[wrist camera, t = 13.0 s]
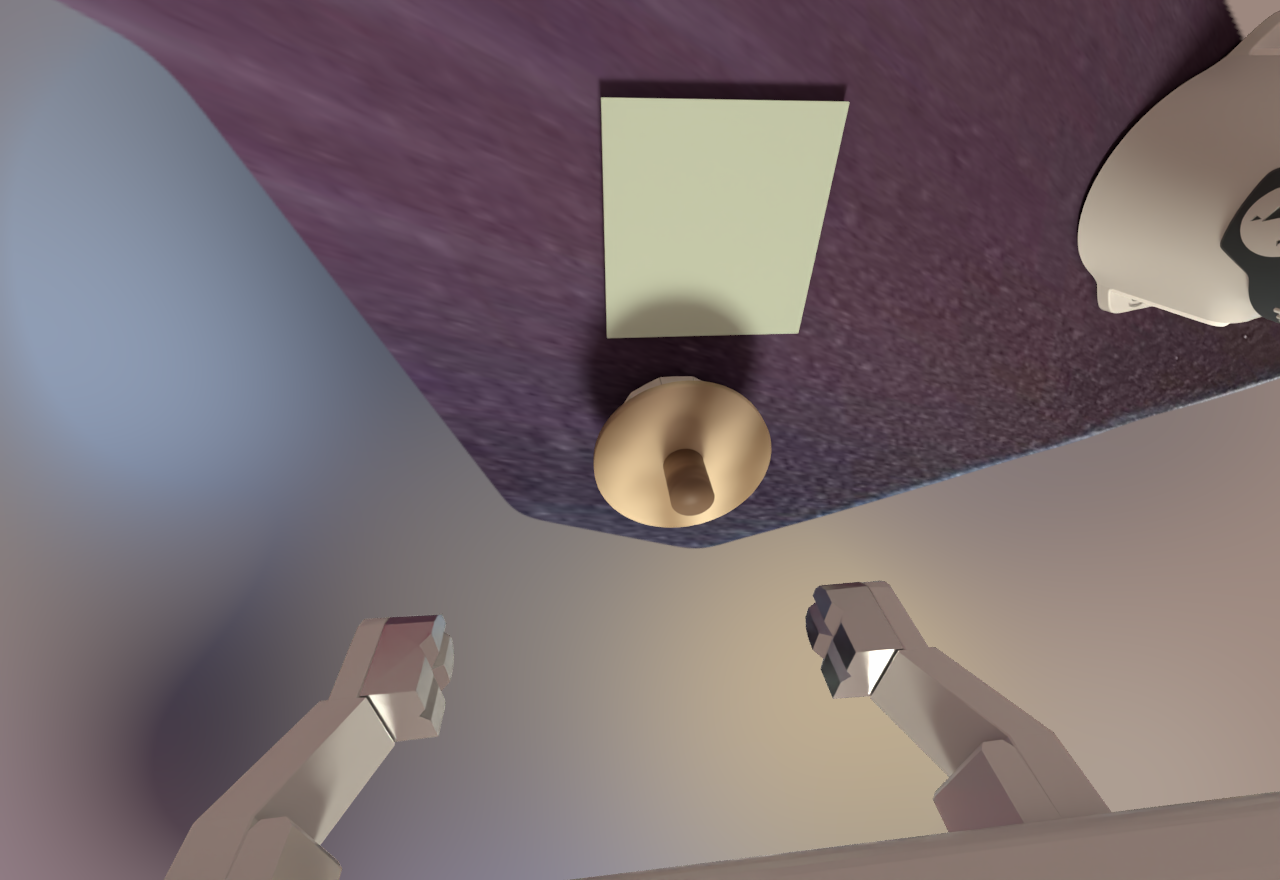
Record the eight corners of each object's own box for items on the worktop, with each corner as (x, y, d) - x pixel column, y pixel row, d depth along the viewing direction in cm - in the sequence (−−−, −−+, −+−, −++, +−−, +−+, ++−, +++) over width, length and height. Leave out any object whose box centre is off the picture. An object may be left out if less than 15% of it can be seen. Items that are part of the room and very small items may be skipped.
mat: (843, 101, 31) (849, 101, 30) (794, 328, 39) (798, 333, 39) (600, 97, 29) (601, 97, 29) (606, 333, 38) (607, 338, 37)
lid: (781, 376, 36) (807, 414, 32) (753, 514, 44) (770, 557, 40) (589, 384, 35) (590, 424, 31) (597, 524, 43) (599, 569, 39)
